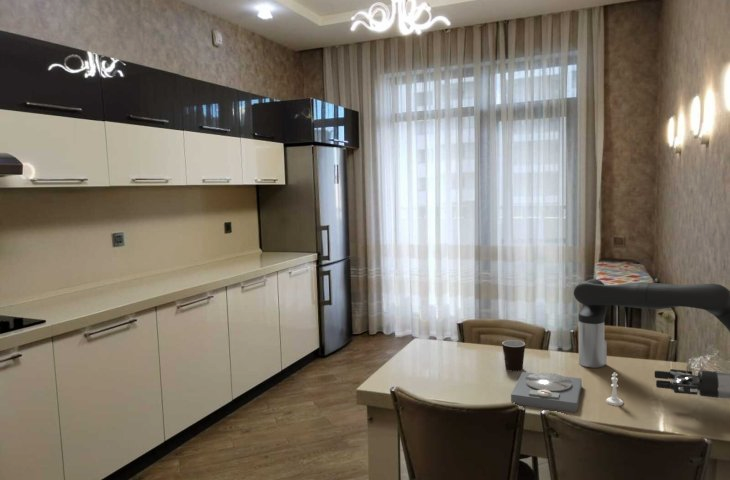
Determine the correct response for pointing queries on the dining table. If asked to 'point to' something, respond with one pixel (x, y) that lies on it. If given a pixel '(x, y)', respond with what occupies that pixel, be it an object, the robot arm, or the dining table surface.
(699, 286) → the robot arm
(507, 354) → the coffee mug
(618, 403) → the chess piece
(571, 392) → the kitchen scale
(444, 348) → the dining table surface
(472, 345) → the dining table surface
